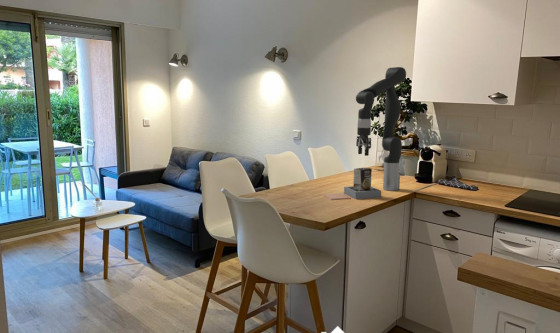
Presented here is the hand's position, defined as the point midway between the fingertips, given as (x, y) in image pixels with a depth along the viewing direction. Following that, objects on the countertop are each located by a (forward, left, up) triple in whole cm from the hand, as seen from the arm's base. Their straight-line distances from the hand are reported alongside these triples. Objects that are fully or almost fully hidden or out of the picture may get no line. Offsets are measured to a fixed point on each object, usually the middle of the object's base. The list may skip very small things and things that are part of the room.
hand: (363, 154), depth 242 cm
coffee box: (0, 0, -24) cm, 24 cm away
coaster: (+16, 0, -24) cm, 29 cm away
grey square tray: (0, 0, -24) cm, 24 cm away
